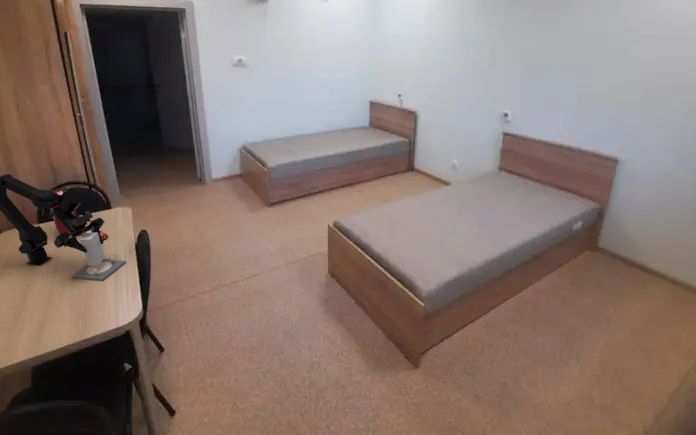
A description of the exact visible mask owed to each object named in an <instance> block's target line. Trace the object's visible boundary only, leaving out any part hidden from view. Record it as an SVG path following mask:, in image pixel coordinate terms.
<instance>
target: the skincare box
mask: <svg viewBox="0 0 696 435" xmlns="http://www.w3.org/2000/svg"><path fill="white" fill-rule="evenodd" d="M79 241H80V242H79V243H80V244H81V245H82V246H83V247H84V248H85V249H86V250H87V252H86V253H85V252H83V254H84V257H85V260H87V263H88V265H99V263H100V262H101V261H102V260H103V259H106V255H105V252H104V249H103V246H102V245H103V244H101V242H100V239H99V235H98V233H97V232H95V233H86V234H85V235H84V236H83V237H81V238H80V239H79Z"/></svg>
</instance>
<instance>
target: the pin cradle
mask: <svg viewBox="0 0 696 435" xmlns="http://www.w3.org/2000/svg"><path fill="white" fill-rule="evenodd" d="M83 263H84V266H83V267H82V268H80V269H79V270H77V271H76V272H74V273H73V274H72V275H70V276H71V278H72V279H78V280H86V281H87V280H89V281H95V282H96V281H98V282H104V281H105V280H107V278H109V277H110V276H112V274H114V273H116V272H117V271H118V270H119V269H120V268H122V267H123V266H124V265H126V264H127V260H120V259H119V260H118V259H115V258H114V255H111V256H110V258H104V259H103V260H102V261H101V262H100V263H99V265H88V263H87V260H86V259H85V260H83Z"/></svg>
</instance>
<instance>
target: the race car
mask: <svg viewBox="0 0 696 435" xmlns="http://www.w3.org/2000/svg"><path fill="white" fill-rule="evenodd" d="M88 231H90V230H88ZM88 231H86V232H84V233H82V235H81V236H82V237H83V236H84V235H85V234H86V233H87V232H88ZM99 231H100V235H101V237H102V240H103V241H105V240H107V239H108V237H109V235H108V233H105V232H103V231H102V230H99ZM82 237H81V238H82Z"/></svg>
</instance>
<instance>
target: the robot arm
mask: <svg viewBox="0 0 696 435" xmlns="http://www.w3.org/2000/svg"><path fill="white" fill-rule="evenodd" d="M7 190H8V191H11V192H13V193H15V194H17V195H19V196H22V197H24V198H26V199H28V200H30V201H31V203H32V205H33V206H34V207H36V208H38V209H40V210H41V211H45V212H46V211H49V218H53V217H54V216H55V217H56V218H57V219H58V221H59V222H60V223H61V224H62V228H63V229H64V228H66V229H67V230H68V231H69V232H70V233H67V232H65V233H63V234H58V235H57V236H56V238H55V240H54V242H53V243H54V245H55V247H56V248H62V247H69V248H72V249H75V250H77V251H80V252H83V253H84V252H85V253H86V252H87V250H86V249H85V248H84V247H83V246H82V245H81V242H79V241H78V239H77V237H76V236H78V235H80V234H82V233H84V232H86V231H88V230H90V231H91V233H95V232H97V233H98V235H99V239H100V242H101V245H104V240H102V237H101V235H100V231H101V230H100V229H101V228H102V227H103V225H104V223H105V220H104V219H103V218H101V217H97V218H95V219H93V218H94V215H93V214H92V213H91V212H90V211H89V210H87V211H84V212H82V215H81V216H80V215H79V214H78V215H75V214H74V213H73V212H74V211H75V210H76V209H77V208H78V207H80V205H81V204H82V202H83V197H82V196H81V195H80V194H79V193H75V192H71V191H69V190H68V191H65V192H63V194H62V195H59V194H56V193H54V192H51V190H47V189H38V188H36V187H34V186H33V185H30V184H28V183H26V182H24V181H22V180H20V179H17V178H15V177H13V175H11V174H10V173H4V174H1V175H0V212H1V213H2V214H3V216H4V217H6V219H7V220H8V221H9V222H10V223H11V224H12V226H13V227H14V229H16V231H17V232H18V238H19V241H20V243H21V244H20V246H19V247H18V251H19V253H21V254H26V256H27V259H28V261H27V262H26V265H30V266H31V265H32V266H41V265H43V264H44V263H46V262H47V261H49V260H51V259H52V256H48V253H47V251H46V250H45V246H47V245H48V237H49V236H48V235H47V232H45V230H44V229H43V228H42V226H40V225H38V226H35V225H33V224H31V222H30V221H29V220H28V218H26V216H25V215H24V214H23V213H22V212H21V210H20V209H19V208H18V207H17V206H16V205H15V203H14V202H13V201H12V200H11V198H10V197H8V192H7ZM57 205H58V206H57ZM55 206H57V207H55ZM53 207H55V208H54V209H53V210H51V211H50V209H51V208H53ZM91 219H92V220H91ZM88 223H89V224H88ZM78 237H79V236H78Z"/></svg>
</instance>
